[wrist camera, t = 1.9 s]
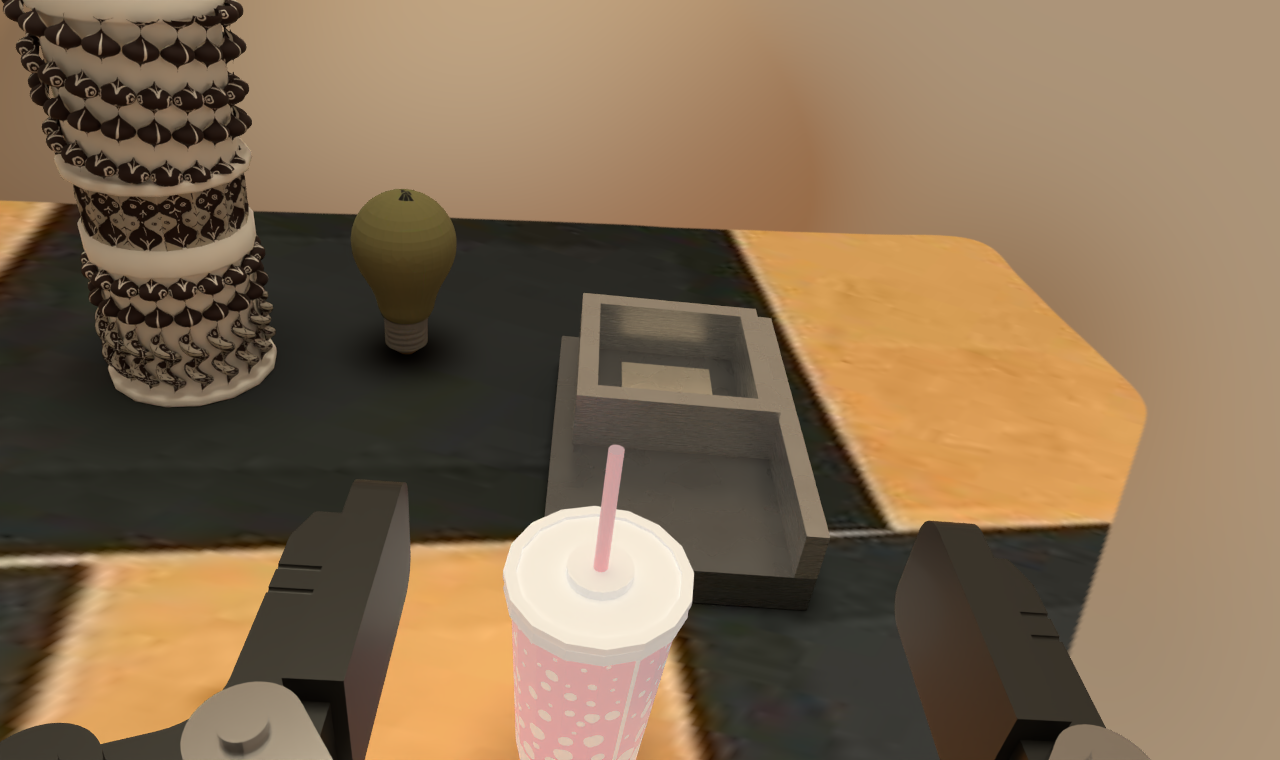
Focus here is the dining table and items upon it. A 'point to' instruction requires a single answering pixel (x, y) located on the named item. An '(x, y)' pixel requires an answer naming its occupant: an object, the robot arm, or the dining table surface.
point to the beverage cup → (592, 626)
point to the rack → (693, 442)
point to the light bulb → (404, 260)
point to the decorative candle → (157, 188)
